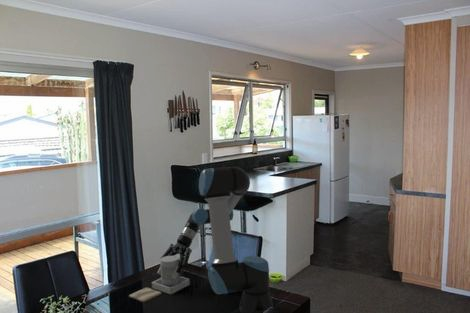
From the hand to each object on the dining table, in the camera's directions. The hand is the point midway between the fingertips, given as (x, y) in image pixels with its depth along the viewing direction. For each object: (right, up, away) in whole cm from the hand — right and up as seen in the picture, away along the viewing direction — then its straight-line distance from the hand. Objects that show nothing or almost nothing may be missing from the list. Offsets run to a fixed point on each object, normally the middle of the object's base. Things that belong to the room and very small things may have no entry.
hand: (165, 276), depth 202 cm
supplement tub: (+2, -6, +3) cm, 7 cm away
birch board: (-9, -7, -7) cm, 13 cm away
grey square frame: (+2, -6, +3) cm, 7 cm away
